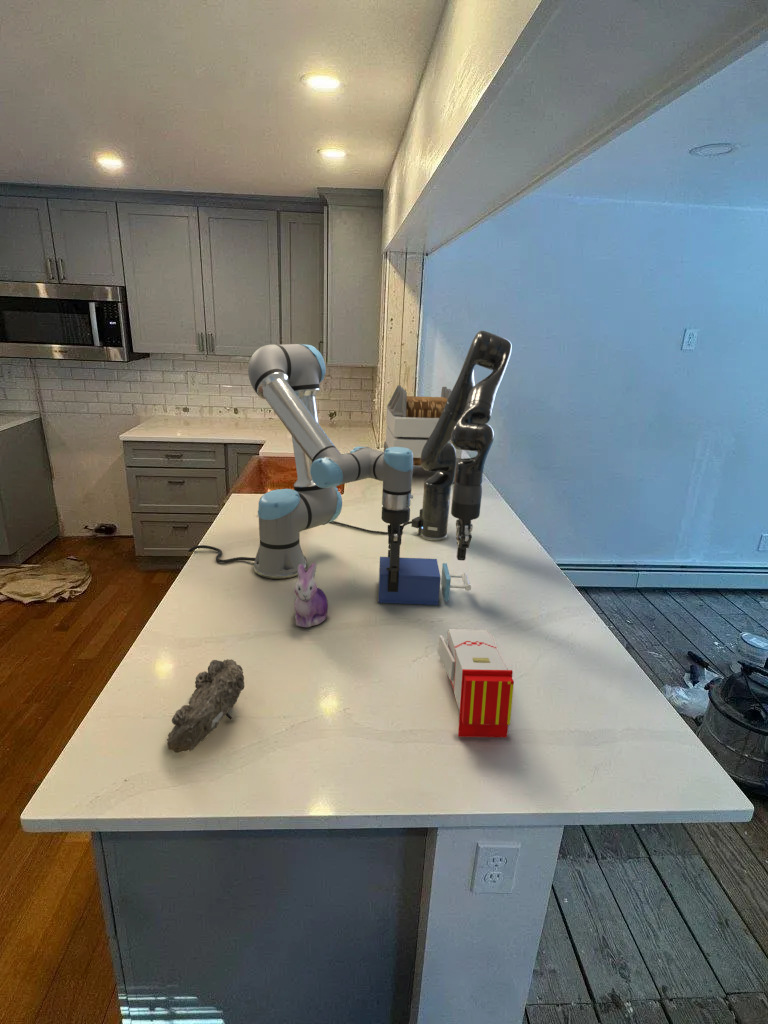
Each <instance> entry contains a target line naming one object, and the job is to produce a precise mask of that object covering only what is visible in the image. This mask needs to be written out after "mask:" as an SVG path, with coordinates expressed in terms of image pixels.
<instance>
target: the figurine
mask: <svg viewBox="0 0 768 1024" xmlns="http://www.w3.org/2000/svg"><path fill="white" fill-rule="evenodd" d="M316 573H317V563H316V562H313V563H311V565H310V566H309V567H308V569H307V570H306V569H305V568H304V566H303V564H299V566H298V575H297V578H298V579H297V581H296V583H295V586H294V589H293V590H294V594H295V596H296V598H295V601H294V612H295V615H294V619H295V626H297V627H302V628H311V627H312V626H313V627H314V626H318V625H320V624H322V623H323V622H324V621H325V620H326V619H327V616H328V610H329V604H328V598H327V595H326V594H325V592H324V591H323V590H322V589H321V588H319V587H318V586H317V583H316V581H315V575H316Z"/></svg>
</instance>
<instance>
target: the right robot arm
mask: <svg viewBox="0 0 768 1024" xmlns="http://www.w3.org/2000/svg"><path fill="white" fill-rule="evenodd" d="M512 347H513V345H512V342H511V341H510V340H508V339H507V338H505V337H502V336H500V335H497V334H496V333H495V334H494V333H492V332H489V331H487V330H479V331H478V332H477V333H476V334H475V335H474V338H473V339H472V341H471V343H470V347H469V348H468V350H467V351H468V352H467V354H466V356H465V359H464V362H463V364H462V367H461V369H460V372H459V375H458V377H457V379H456V381H455V384H454V385H453V387H452V389H451V394H450V396H449V398H448V400H447V402H446V404H445V406H444V409H443V411H442V414H441V416H440V418H439V420H438V422H437V424H436V426H435V428H434V430H433V432H432V434H431V435H430V437H429V439H428V440H427V442H426V444H425V445H424V447H423V449H422V452H421V458H420V461H421V466H420V467H422V469H423V470H424V471H426V472H434V473H433V475H431V476H429V477H428V478H426V479H425V480H424V482H423V493H422V496H423V497H422V506H421V508H420V509H419V516H416V517H413V518H412V519H411V520H409V522H407V523H405V524H401V525H402V529H403V530H404V528H405V527H406V526H407V525H411V528H414V529H418V530H417V535H418V536H420V538H421V539H424V540H426V541H432V542H440V541H444V540H446V539H447V538H448V525H449V517H450V516H449V514H451V516H452V517H453V518H455V519H456V520H455V526H456V527H455V529H456V530H455V535H456V545H457V548H456V549H457V550H456V559H457V560H458V561H465V560H466V559H467V549H469V548H470V545H471V542H472V539H473V535H472V532H473V527H474V526H473V523H472V521H473V520H476V519H478V518H479V517H480V515H481V507H482V506H481V504H482V495H483V475H484V468H485V463H486V460H487V457H488V454H489V452H490V450H491V447H492V445H493V443H494V441H495V432H494V429H493V428H492V426H491V425H490V424H489V422H490V421H491V418H492V414H493V409H494V406H495V405H494V404H495V399H496V396H497V393H498V390H499V388H500V385H501V383H502V380H503V377H504V376H505V375H504V374H505V372H506V369H507V366H508V363H509V361H510V358H511V354H512ZM475 366H479V367H482V368H485V369H487V370H490V371H491V373H490V374H489V375H487V376H486V377H485V378H482V379H481V380H480V381H478V382H477V383H476V382H475V371H474V370H475ZM450 440H451V442H452V444H451V443H448V442H449V441H450ZM454 447H455V448H456V449H459V450H462V451H467V452H477V454H476V455H475V456H472V457H467V458H465V457H464V458H462V459H460V460H459V461H458V462H457V464H456V451H455V448H454ZM455 466H456V473H455ZM454 473H455V483H453V480H454ZM452 486H453V488H452ZM451 491H452V493H451ZM451 494H452V496H451ZM451 497H452V498H451ZM450 504H451V509H450ZM330 523H331V524H335V525H338V526H340V525H341V526H343V527H346V528H350V529H355V530H359V531H362V532H367V533H371V534H380V535H388V531H382V530H381V531H380V530H371V529H367V528H362V527H358V526H355V525H351V524H347V523H343V522H340V521H336V520H334V521H332V522H330Z"/></svg>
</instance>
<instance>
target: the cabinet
mask: <svg viewBox="0 0 768 1024" xmlns="http://www.w3.org/2000/svg"><path fill="white" fill-rule="evenodd" d="M389 563H390V557H388V556H379V569H378V601H377V602H378V604H398V605H399V604H401V605H426V606H438V605H439V601H440V592H439V588H440V589H441V580H440V578H441V573H440V567H439V563H438V558H421V557H400V558H399V568H400V570H399V578H398V592H388V571H389V570H386V568H389Z"/></svg>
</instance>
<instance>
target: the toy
mask: <svg viewBox="0 0 768 1024" xmlns="http://www.w3.org/2000/svg"><path fill="white" fill-rule="evenodd" d="M446 640H447V643H446V641H445V639H444V636H443V635H442V634H439V637H438V646H437V656H438V657H439V659H440V661H441V663H442V666H443V668H444V670H445V672H446V674H447V677H448V679H449V681H450V684H451V687H452V690H453V693H454V697H455V701H456V705H457V708H458V711H459V714H458V715H459V716H458V730H457V731H458V732H457V737H458V738H508V731H509V726H510V725H511V717H512V707H513V697H514V696H513V695H514V684H515V680H514V679H513V673H514V671H513V670H512V669H508V667H507V665H506V662H505V661H504V659H503V658H502V655H501V653H500V651H499V649H498V647H497V643H496V639H495V637H494V635H493V634H491V632H490V631H489V629H467V628H466V629H465V628H463V629H461V628H460V629H459V628H448V630H447V639H446Z"/></svg>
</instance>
